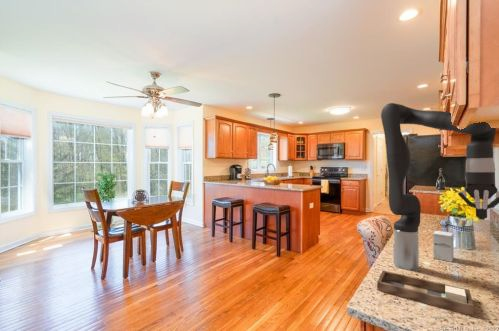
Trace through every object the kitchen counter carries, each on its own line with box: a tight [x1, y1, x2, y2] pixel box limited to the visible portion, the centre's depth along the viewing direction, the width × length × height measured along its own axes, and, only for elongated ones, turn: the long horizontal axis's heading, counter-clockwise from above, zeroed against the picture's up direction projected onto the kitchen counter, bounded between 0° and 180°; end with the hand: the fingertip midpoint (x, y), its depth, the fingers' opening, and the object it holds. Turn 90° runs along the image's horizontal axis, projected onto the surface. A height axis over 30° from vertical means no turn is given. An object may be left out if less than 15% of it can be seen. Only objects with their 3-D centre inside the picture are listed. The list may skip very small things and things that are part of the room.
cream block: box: [445, 284, 466, 303], centre depth 79 cm, size 5×5×4 cm
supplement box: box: [432, 230, 454, 263], centre depth 119 cm, size 7×7×13 cm
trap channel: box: [376, 270, 475, 317], centre depth 85 cm, size 26×12×4 cm, turn 52°
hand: (481, 219), depth 86 cm, fingers closed
